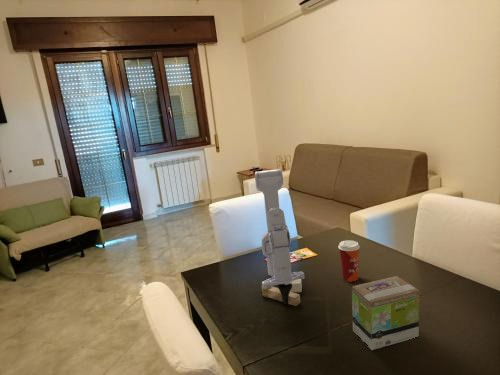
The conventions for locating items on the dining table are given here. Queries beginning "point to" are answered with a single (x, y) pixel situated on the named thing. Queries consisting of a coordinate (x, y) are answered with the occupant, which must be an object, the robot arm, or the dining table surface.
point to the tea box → (385, 312)
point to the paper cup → (349, 260)
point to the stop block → (296, 286)
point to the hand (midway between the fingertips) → (285, 302)
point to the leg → (276, 294)
